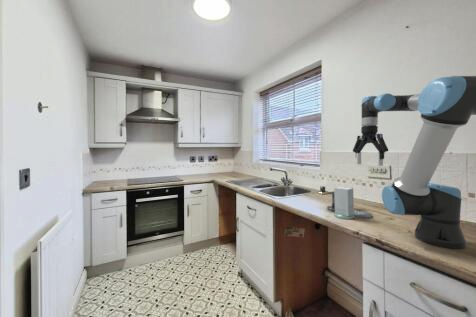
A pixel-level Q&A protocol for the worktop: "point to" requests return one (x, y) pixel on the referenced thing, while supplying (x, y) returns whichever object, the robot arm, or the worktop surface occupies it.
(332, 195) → the post
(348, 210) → the skincare box
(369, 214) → the dish grey
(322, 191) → the balance beam
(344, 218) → the dish green
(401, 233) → the worktop surface
